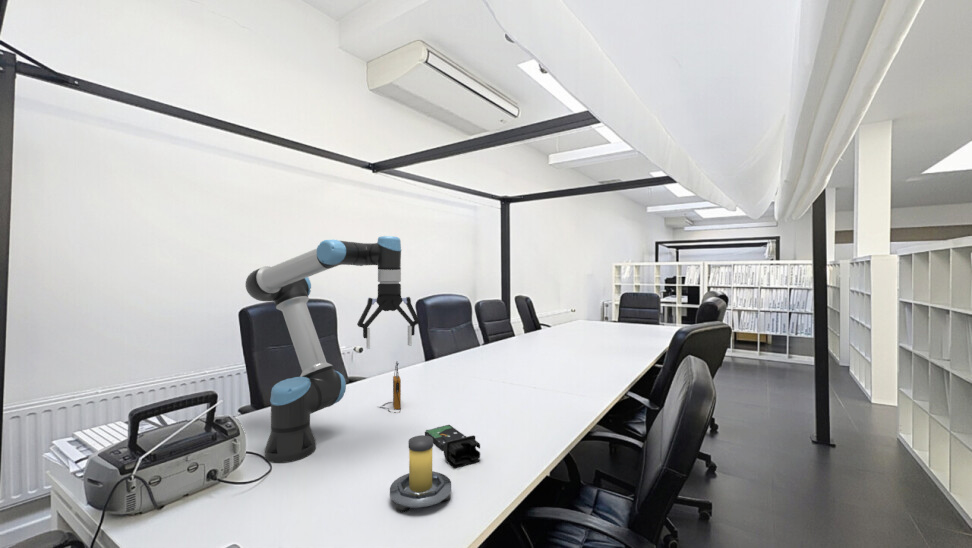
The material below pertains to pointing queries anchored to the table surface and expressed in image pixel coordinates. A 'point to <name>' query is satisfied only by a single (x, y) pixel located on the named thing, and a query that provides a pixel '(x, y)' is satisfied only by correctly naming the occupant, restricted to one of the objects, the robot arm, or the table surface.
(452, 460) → the end cap
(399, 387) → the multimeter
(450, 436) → the disk drive
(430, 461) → the capped yellow cylinder
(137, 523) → the table surface
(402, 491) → the grey round dish
